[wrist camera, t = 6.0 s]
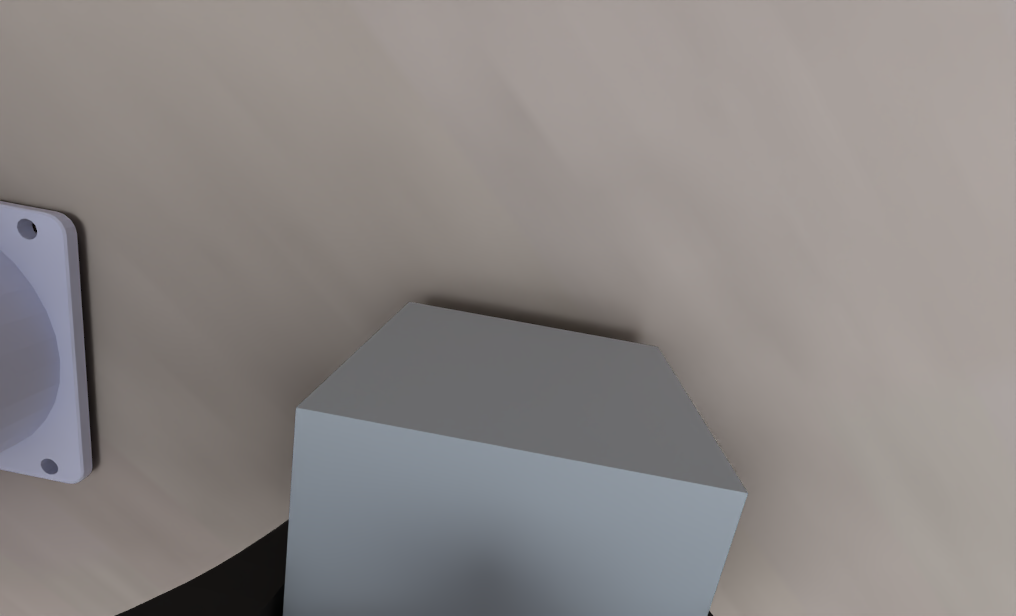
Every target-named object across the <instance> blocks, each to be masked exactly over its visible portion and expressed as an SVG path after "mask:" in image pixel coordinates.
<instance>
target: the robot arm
mask: <svg viewBox="0 0 1016 616" xmlns="http://www.w3.org/2000/svg"><path fill="white" fill-rule="evenodd" d="M32 222H33V223H34V224H35V226H36V229H37V234H36V233H35V231H34V230H33V227H32ZM92 467H93V466H92V451H91V436H90V421H89V406H88V391H87V376H86V361H85V346H84V331H83V316H82V301H81V286H80V271H79V256H78V240H77V232H76V228H75V226H74V224H73V223H72V221H71V220H70V219H69V218H68V217H67V216H66V215H64V214H62V213H59V212H56V211H51V210H46V209H40V208H35V207H30V206H24V205H19V204H14V203H9V202H3V201H0V470H5V471H10V472H15V473H19V474H24V475H29V476H34V477H39V478H44V479H49V480H54V481H59V482H64V483H69V484H75V483H78V482H80V481H81V480H83V479H84V478H86V477H87V476H89V474H90V473H91V472H92ZM288 526H289V519H288V520H287V521H286V522H284V523H283V524H282V525H280V526H279V527H277V528H276V529H275V530H273V531H272V532H270V533H269V534H267V535H266V536H264V537H263V538H261V539H259V540H258V541H256V542H255V543H253V544H252V545H250V546H249V547H247V548H246V549H244V550H243V551H241V552H240V553H238V554H236V555H235V556H233V557H231V558H230V559H228V560H226V561H225V562H223V563H221V564H220V565H218V566H216V567H215V568H213V569H211V570H209V571H207V572H205V573H204V574H202V575H200V576H198V577H196V578H194V579H193V580H191V581H189V582H187V583H185V584H183V585H181V586H179V587H176V588H174V589H172V590H170V591H168V592H166V593H164V594H162V595H160V596H157V597H155V598H153V599H151V600H149V601H147V602H145V603H143V604H141V605H138V606H136V607H134V608H132V609H130V610H127V611H125V612H123V613H120V614H118V615H115V616H283V605H284V589H285V573H286V558H287V542H288ZM707 616H713V615H712V614H711V612H710V611H709V612H708V615H707Z"/></svg>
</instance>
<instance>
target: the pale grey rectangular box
mask: <svg viewBox="0 0 1016 616" xmlns="http://www.w3.org/2000/svg"><path fill="white" fill-rule="evenodd" d="M747 495H748V492H747V491H746V489H745V488H744V486H743V484H742V483H741V481H740V479H739V478H738V476H737V475H736V473H735V471H734V470H733V468H732V466H731V465H730V463H729V462H728V460H727V458H726V457H725V455H724V453H723V452H722V450H721V449H720V447H719V445H718V444H717V442H716V440H715V439H714V437H713V436H712V434H711V432H710V431H709V429H708V427H707V426H706V424H705V423H704V421H703V419H702V418H701V416H700V414H699V413H698V411H697V410H696V408H695V406H694V405H693V403H692V401H691V400H690V398H689V397H688V395H687V393H686V392H685V390H684V388H683V387H682V385H681V384H680V382H679V380H678V379H677V377H676V375H675V374H674V372H673V371H672V369H671V367H670V366H669V364H668V362H667V361H666V359H665V358H664V356H663V354H662V353H661V351H660V349H659V348H658V347H656V346H650V345H645V344H639V343H634V342H628V341H623V340H617V339H612V338H606V337H601V336H595V335H590V334H584V333H579V332H573V331H568V330H562V329H557V328H551V327H546V326H540V325H535V324H529V323H524V322H518V321H513V320H507V319H502V318H496V317H491V316H485V315H480V314H474V313H469V312H463V311H458V310H452V309H447V308H441V307H436V306H430V305H425V304H419V303H414V302H408V303H407V304H406V305H405V306H404V307H403V308H402V309H401V310H400V311H399V312H398V313H397V314H396V315H394V316H393V317H392V318H391V319H390V320H389V321H388V322H387V323H386V324H385V325H384V326H383V327H382V328H381V329H379V330H378V331H377V332H376V333H375V334H374V335H373V336H372V337H371V338H370V339H369V340H368V341H367V342H366V343H364V344H363V345H362V346H361V347H360V348H359V349H358V350H357V351H356V352H355V353H354V354H353V355H352V356H351V357H350V358H348V359H347V360H346V361H345V362H344V363H343V364H342V365H341V366H340V367H339V368H338V369H337V370H336V371H335V372H333V373H332V374H331V375H330V376H329V377H328V378H327V379H326V380H325V381H324V382H323V383H322V384H321V385H320V386H318V387H317V388H316V389H315V390H314V391H313V392H312V393H311V394H310V395H309V396H308V397H307V398H306V399H305V400H304V401H302V402H301V403H300V404H299V405H298V406H297V407H296V415H295V431H294V447H293V463H292V478H291V494H290V510H289V526H288V542H287V558H286V573H285V589H284V605H283V616H707V615H708V612H709V609H710V606H711V603H712V600H713V597H714V594H715V591H716V588H717V585H718V582H719V579H720V576H721V573H722V570H723V567H724V564H725V561H726V558H727V555H728V552H729V549H730V546H731V543H732V540H733V537H734V534H735V531H736V528H737V525H738V522H739V519H740V516H741V513H742V510H743V507H744V504H745V501H746V498H747Z"/></svg>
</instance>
